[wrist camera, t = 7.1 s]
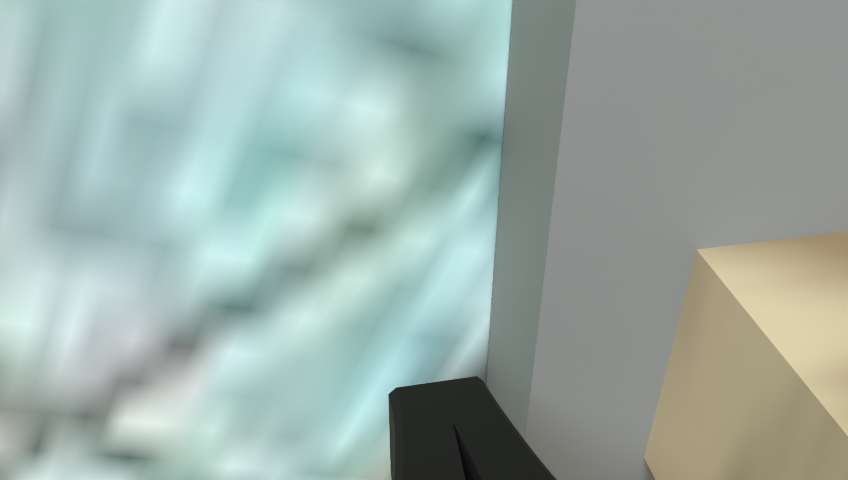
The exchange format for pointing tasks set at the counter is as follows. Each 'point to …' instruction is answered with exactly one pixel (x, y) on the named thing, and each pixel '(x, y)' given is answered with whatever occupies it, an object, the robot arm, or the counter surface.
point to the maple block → (758, 366)
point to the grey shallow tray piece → (646, 195)
